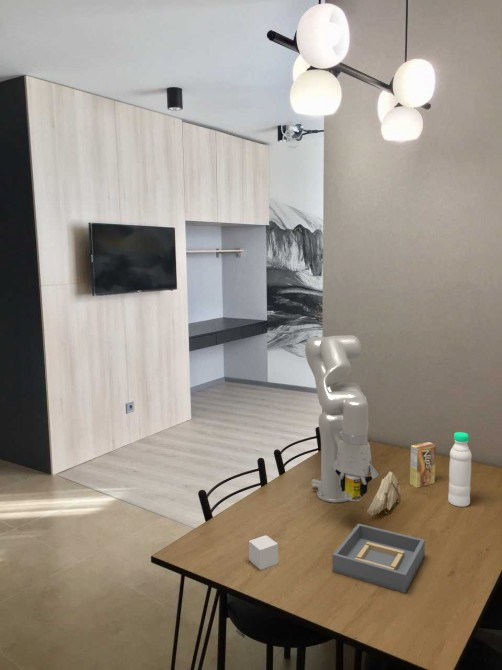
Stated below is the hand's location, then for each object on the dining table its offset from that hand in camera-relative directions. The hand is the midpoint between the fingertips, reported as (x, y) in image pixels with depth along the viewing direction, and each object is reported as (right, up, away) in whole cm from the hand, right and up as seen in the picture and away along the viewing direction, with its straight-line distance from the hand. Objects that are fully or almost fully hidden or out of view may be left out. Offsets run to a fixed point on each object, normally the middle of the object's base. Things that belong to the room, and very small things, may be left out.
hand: (353, 491), depth 173 cm
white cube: (-29, -16, -16) cm, 37 cm away
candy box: (+32, -7, +34) cm, 47 cm away
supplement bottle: (0, -2, 0) cm, 2 cm away
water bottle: (+40, -9, +18) cm, 44 cm away
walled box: (+4, -15, -19) cm, 24 cm away
